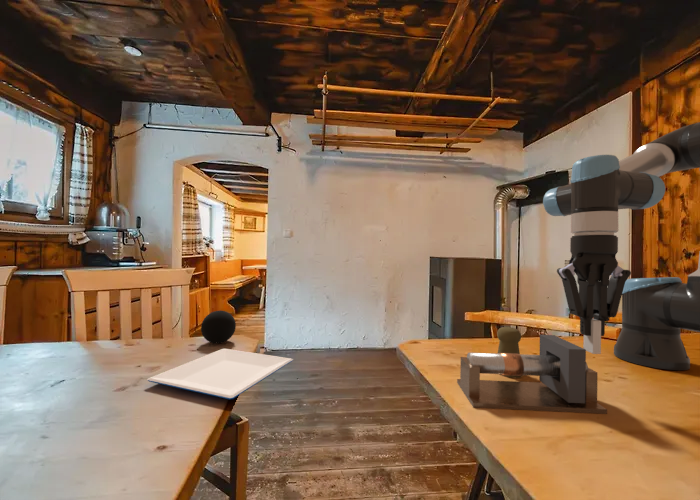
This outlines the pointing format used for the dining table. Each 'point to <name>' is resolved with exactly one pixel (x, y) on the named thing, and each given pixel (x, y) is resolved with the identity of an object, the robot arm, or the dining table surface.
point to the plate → (222, 372)
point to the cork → (509, 342)
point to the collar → (565, 368)
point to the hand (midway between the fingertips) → (591, 351)
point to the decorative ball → (218, 326)
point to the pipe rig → (521, 383)
